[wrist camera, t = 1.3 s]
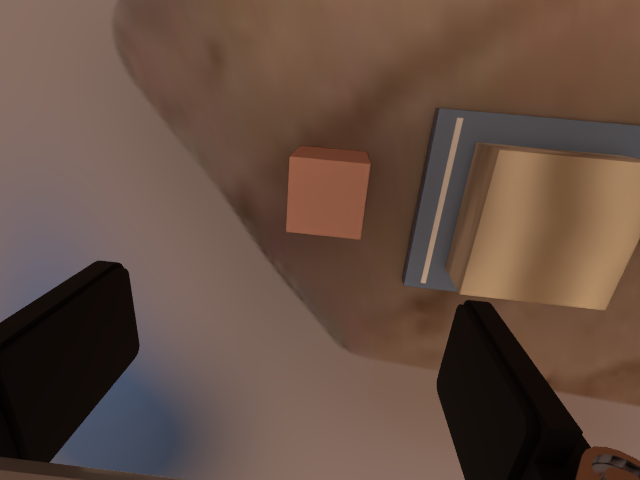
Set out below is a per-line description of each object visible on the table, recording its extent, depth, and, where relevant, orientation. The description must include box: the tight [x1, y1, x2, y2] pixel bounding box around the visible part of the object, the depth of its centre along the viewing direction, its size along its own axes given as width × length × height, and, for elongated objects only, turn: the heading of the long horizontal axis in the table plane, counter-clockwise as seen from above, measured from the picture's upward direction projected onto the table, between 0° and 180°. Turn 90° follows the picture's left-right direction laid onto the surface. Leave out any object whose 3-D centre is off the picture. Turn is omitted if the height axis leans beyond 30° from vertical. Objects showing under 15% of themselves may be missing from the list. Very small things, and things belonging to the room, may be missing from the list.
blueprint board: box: [402, 108, 640, 292], centre depth 26 cm, size 16×14×1 cm
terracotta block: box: [286, 146, 371, 240], centre depth 25 cm, size 5×5×6 cm
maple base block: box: [445, 142, 640, 310], centre depth 24 cm, size 10×10×4 cm
